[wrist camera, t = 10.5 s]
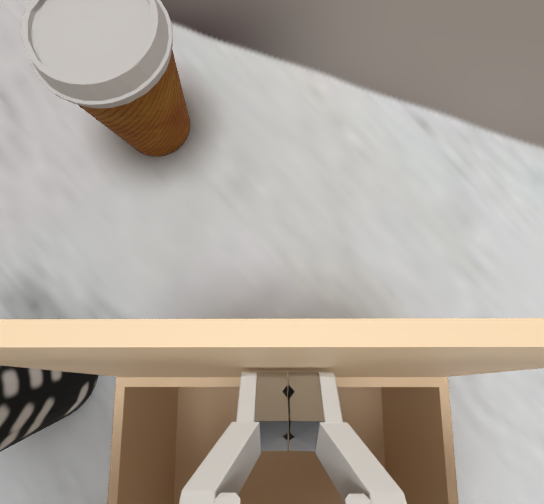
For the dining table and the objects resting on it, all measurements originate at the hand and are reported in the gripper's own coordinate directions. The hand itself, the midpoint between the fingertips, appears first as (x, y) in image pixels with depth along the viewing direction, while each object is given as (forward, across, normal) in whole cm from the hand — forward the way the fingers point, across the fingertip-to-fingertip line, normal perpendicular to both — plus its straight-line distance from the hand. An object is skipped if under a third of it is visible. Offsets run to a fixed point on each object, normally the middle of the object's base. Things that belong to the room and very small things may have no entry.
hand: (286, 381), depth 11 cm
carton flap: (+1, 0, 0) cm, 1 cm away
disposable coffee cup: (+27, -12, +2) cm, 29 cm away
